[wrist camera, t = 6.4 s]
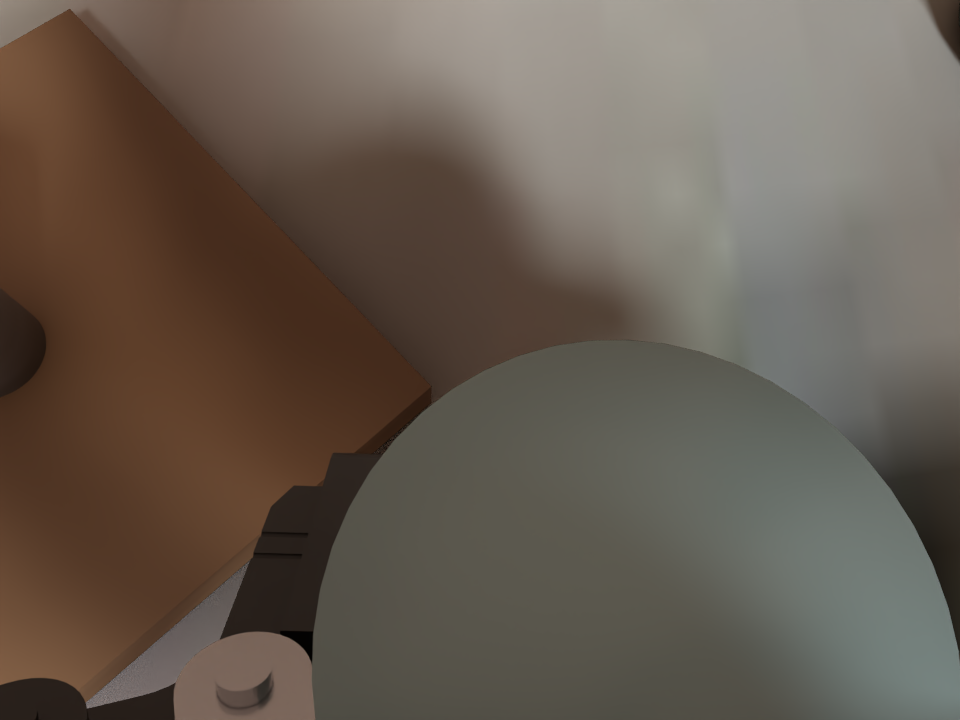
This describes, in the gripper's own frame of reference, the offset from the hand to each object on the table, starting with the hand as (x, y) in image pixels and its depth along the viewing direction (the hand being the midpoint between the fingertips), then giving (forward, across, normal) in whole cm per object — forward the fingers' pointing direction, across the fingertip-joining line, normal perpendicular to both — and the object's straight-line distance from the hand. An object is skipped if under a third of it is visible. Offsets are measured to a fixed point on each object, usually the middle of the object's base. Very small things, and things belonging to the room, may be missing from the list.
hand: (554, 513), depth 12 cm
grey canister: (+2, 0, +4) cm, 5 cm away
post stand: (+7, +12, +1) cm, 14 cm away
